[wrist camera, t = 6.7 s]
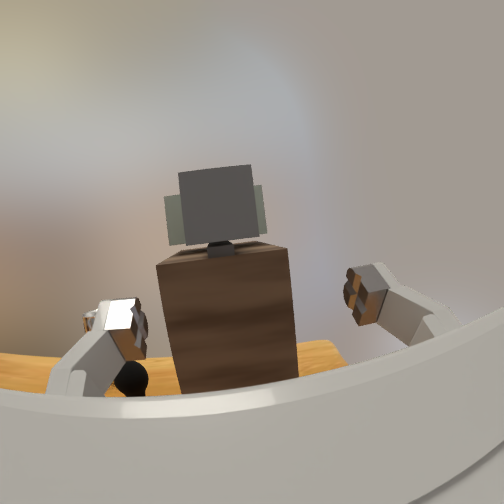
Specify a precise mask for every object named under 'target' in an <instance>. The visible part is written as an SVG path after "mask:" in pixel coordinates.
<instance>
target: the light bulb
mask: <svg viewBox="0 0 504 504" xmlns="http://www.w3.org/2000/svg"><path fill="white" fill-rule="evenodd" d="M125 362H126V363H125V364H124V365H123V367H122V368H121V370H120V371H119V373H118V374H117V376H116V377H115V379H114V380H113V381H114V384H115V386H116V387H117V389H118V390H119V391H120V392H122V393H123V394H125V396H126V397H145V390H146V388H147V385H148V374H147V371H146V370H145V368H144V367H143V366H142V365H141V364H140V363H138V362H136V361H125Z"/></svg>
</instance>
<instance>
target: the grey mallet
mask: <svg viewBox="0 0 504 504" xmlns="http://www.w3.org/2000/svg"><path fill="white" fill-rule="evenodd" d="M178 176H179V187H180V195H173V196H166V197H164V201H165V211H166V221H167V229H168V238H169V245H170V246H171V245H178V244H186V246H188V245H195V244H204V243H211V242H219V241H227V240H235V239H243V238H251V237H259V234H265V233H267V227H266V219H265V210H264V202H263V194H262V186H261V185H256V186H253V177H252V169H251V165H239V166H229V167H220V168H211V169H203V170H196V171H188V172H180V173H178Z"/></svg>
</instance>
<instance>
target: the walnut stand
mask: <svg viewBox="0 0 504 504" xmlns="http://www.w3.org/2000/svg"><path fill="white" fill-rule="evenodd" d="M156 270H157V276H158V283H159V289H160V295H161V301H162V306H163V312H164V317H165V322H166V327H167V332H168V337H169V342H170V347H171V351H172V356H173V360H174V365H175V369H176V373H177V377H178V381H179V385H180V389H181V393H182V394H192V393H203V392H212V391H220V390H228V389H236V388H243V387H249V386H256V385H262V384H267V383H273V382H278V381H283V380H289V379H293V378H298V377H299V374H298V360H297V347H296V335H295V323H294V311H293V300H292V289H291V279H290V269H289V260H288V251H287V248H283V247H279V246H275V245H270V244H266V243H262V242H258V241H251V242H243V243H235V244H232V243H231V242H229V241H228V240H227V241H219V242H211V243H209V244H208V246H207V247H204V248H195V249H188V250H181V251H180V252H178V253H176V254H175V255H173V256H171V257H169V258H167V259H166V260H164V261H162V262H161V263H159V264H158V265H156Z"/></svg>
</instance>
